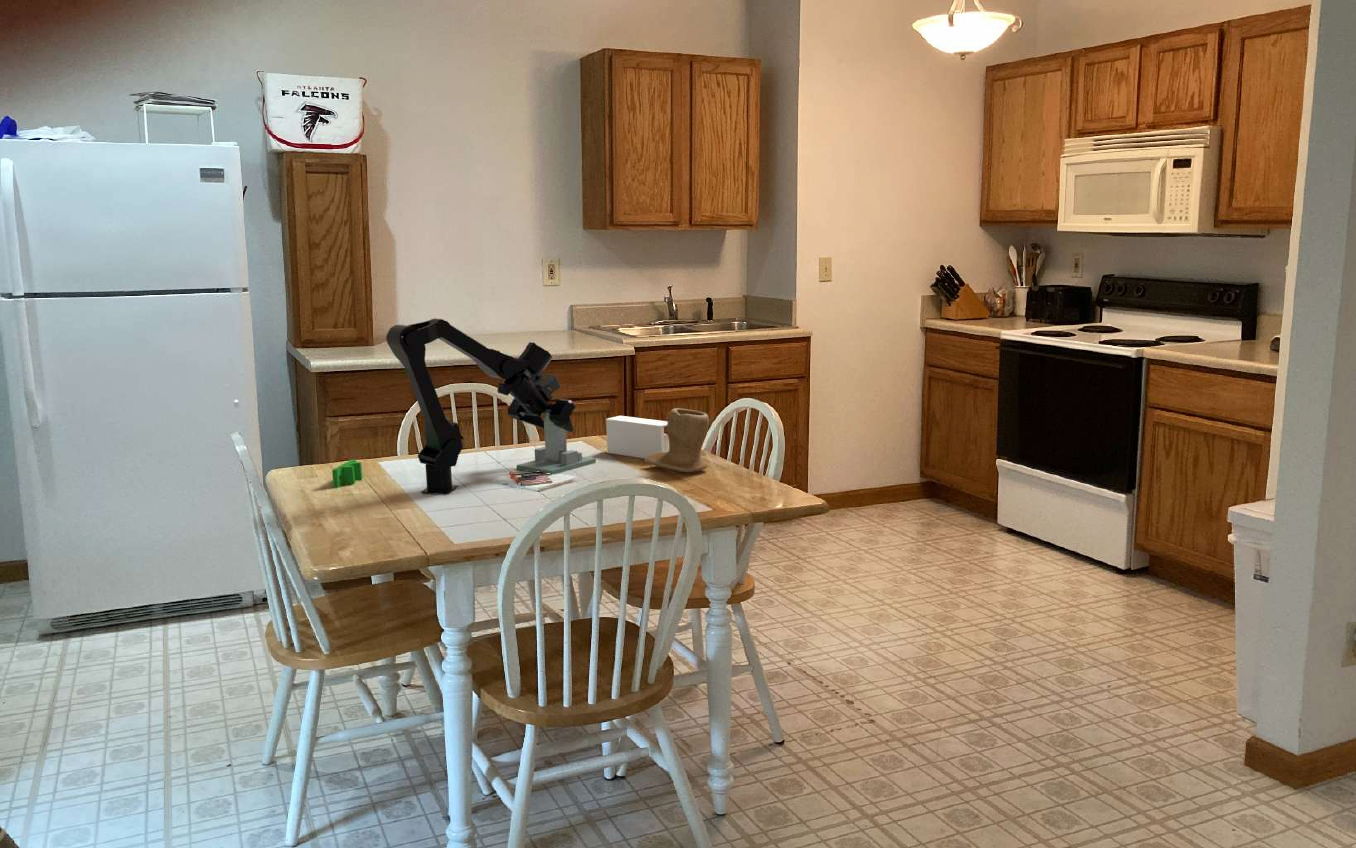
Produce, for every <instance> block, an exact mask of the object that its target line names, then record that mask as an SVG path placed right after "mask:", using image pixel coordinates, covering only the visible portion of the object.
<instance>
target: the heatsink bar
mask: <svg viewBox="0 0 1356 848" xmlns="http://www.w3.org/2000/svg"><path fill="white" fill-rule="evenodd" d="M543 421H544V430H543V431H544V447H545V454H546V459H545V462H548V463H554V464H561V453H563V452H567V451H568V449H567V446H568V445H567V431H566V430H564V429H562V428H560V427H557V426H555V425H554V423H553V422H551V421H550V420H549V413H545V412H544V413H543Z"/></svg>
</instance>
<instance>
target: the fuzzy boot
mask: <svg viewBox="0 0 1356 848" xmlns="http://www.w3.org/2000/svg"><path fill="white" fill-rule="evenodd" d="M709 427H710V417H709V414H708V413H706V412H702V411H698V410H692V409H686V408H678V407H677V408H676V407H675V408H673V409H671V410H670V412H669V413H668V417H667V426H666V429H667V435H668V447H669V451H668V452H657V453H653V454H651V455H649V456H647V457H646V458H645V459H644V460H643V461H644V462H645V463H647V464H650V465H651V466H652V465H653V466H656V467H659V468H661V469H667V470H669V471H670V470H671V471H674V472H681V473H695V472H701V471H703V470H705V469H707V468H708V463H706V462H705V461H704V460H703V459H702V458H701V451H702V447H703V445H704V442H705V440H706V437H707V434H708V431H709Z"/></svg>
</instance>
